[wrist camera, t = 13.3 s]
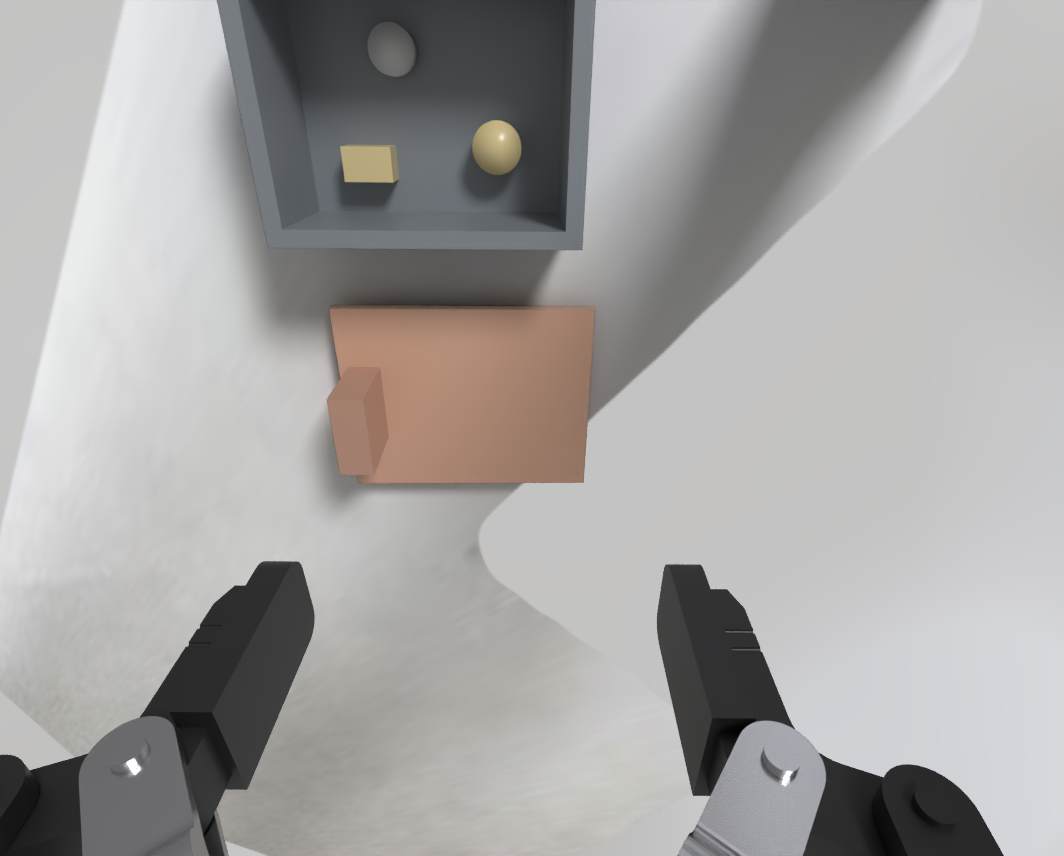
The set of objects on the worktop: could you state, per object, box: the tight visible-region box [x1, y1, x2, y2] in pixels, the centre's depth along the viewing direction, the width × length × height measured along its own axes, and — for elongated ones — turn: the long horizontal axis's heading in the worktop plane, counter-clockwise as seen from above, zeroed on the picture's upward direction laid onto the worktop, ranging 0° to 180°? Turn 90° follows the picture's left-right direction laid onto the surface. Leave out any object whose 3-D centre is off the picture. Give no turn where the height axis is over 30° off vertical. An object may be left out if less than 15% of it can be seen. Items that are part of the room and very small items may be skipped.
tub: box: [217, 0, 596, 250], centre depth 33 cm, size 18×14×8 cm
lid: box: [327, 305, 595, 483], centre depth 43 cm, size 19×15×8 cm
